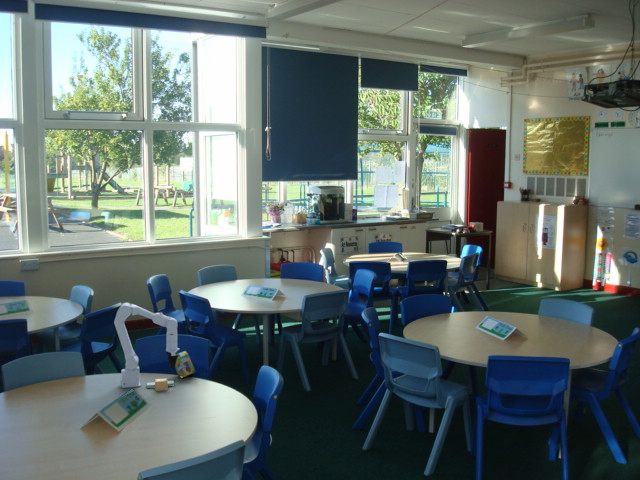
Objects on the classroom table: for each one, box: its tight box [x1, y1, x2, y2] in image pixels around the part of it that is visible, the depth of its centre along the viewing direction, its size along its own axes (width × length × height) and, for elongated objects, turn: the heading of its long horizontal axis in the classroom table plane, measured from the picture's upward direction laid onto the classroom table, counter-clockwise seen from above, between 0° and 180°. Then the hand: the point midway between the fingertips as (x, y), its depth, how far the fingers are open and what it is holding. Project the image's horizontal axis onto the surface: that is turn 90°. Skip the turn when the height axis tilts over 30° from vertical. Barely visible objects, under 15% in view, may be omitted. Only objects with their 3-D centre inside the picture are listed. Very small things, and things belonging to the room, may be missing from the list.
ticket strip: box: [145, 380, 175, 389], centre depth 338 cm, size 14×5×2 cm, turn 109°
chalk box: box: [175, 350, 197, 378], centre depth 355 cm, size 9×9×15 cm
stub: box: [154, 377, 169, 392], centre depth 333 cm, size 6×5×5 cm
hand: (171, 365), depth 343 cm, fingers open, 7 cm apart
